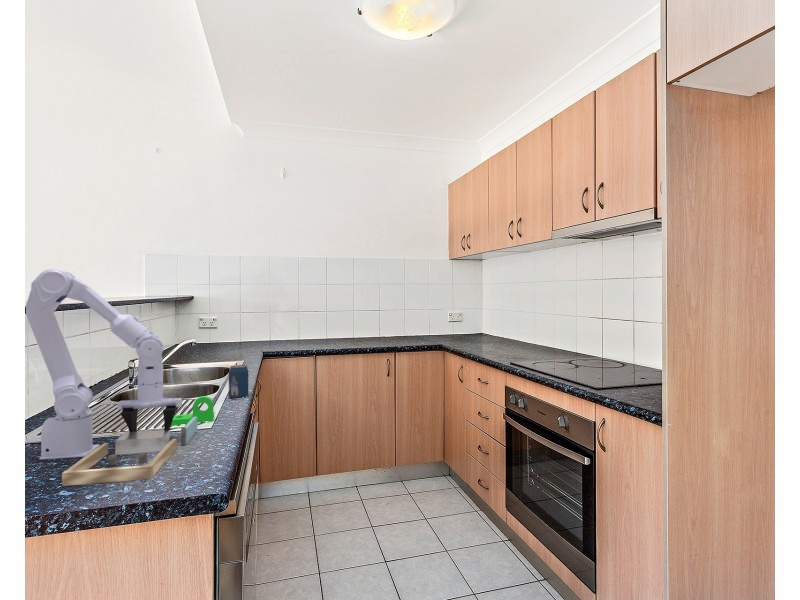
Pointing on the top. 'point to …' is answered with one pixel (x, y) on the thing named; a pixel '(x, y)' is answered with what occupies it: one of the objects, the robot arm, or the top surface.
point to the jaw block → (142, 442)
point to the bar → (191, 428)
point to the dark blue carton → (238, 381)
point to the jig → (84, 476)
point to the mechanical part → (196, 412)
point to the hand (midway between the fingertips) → (150, 436)
